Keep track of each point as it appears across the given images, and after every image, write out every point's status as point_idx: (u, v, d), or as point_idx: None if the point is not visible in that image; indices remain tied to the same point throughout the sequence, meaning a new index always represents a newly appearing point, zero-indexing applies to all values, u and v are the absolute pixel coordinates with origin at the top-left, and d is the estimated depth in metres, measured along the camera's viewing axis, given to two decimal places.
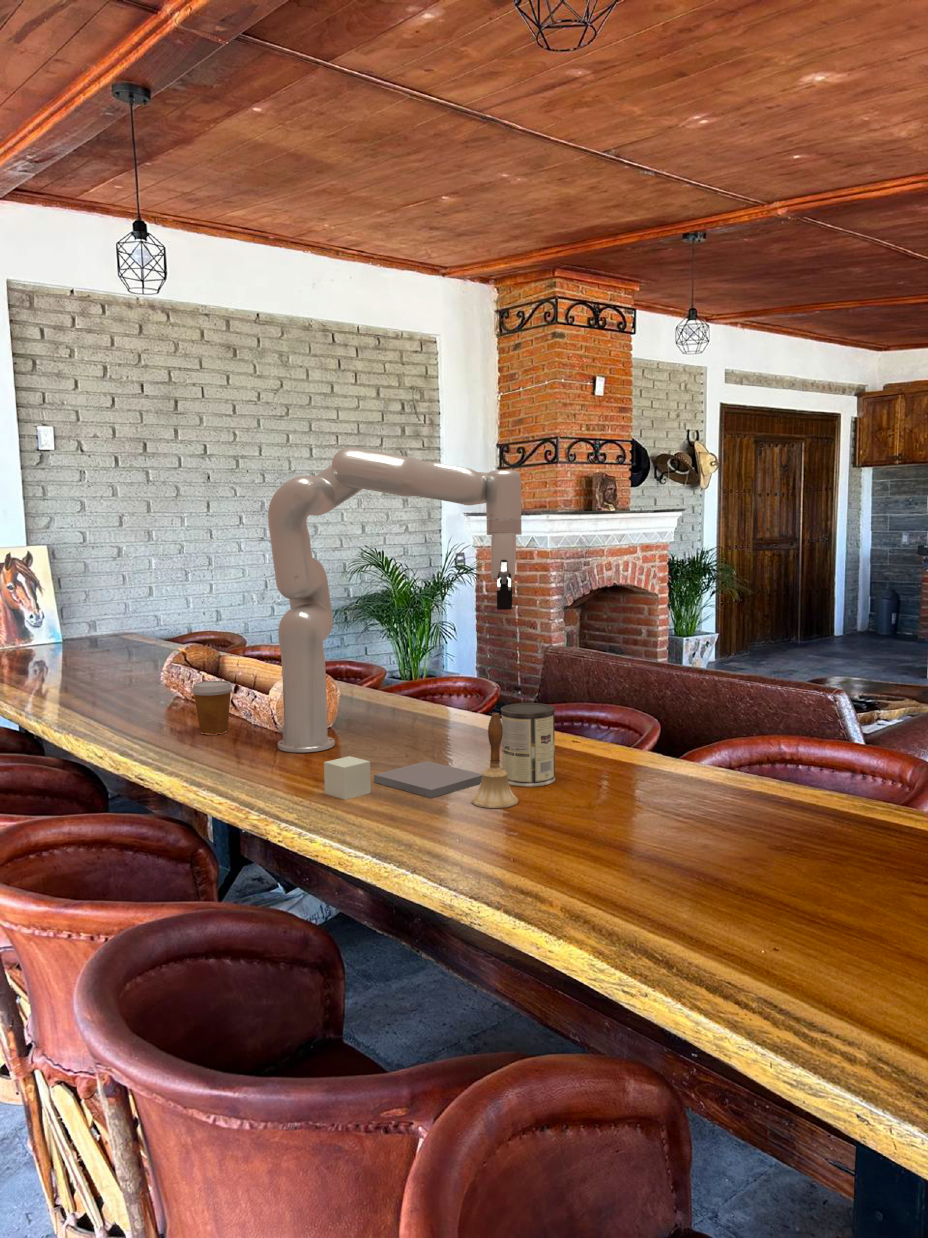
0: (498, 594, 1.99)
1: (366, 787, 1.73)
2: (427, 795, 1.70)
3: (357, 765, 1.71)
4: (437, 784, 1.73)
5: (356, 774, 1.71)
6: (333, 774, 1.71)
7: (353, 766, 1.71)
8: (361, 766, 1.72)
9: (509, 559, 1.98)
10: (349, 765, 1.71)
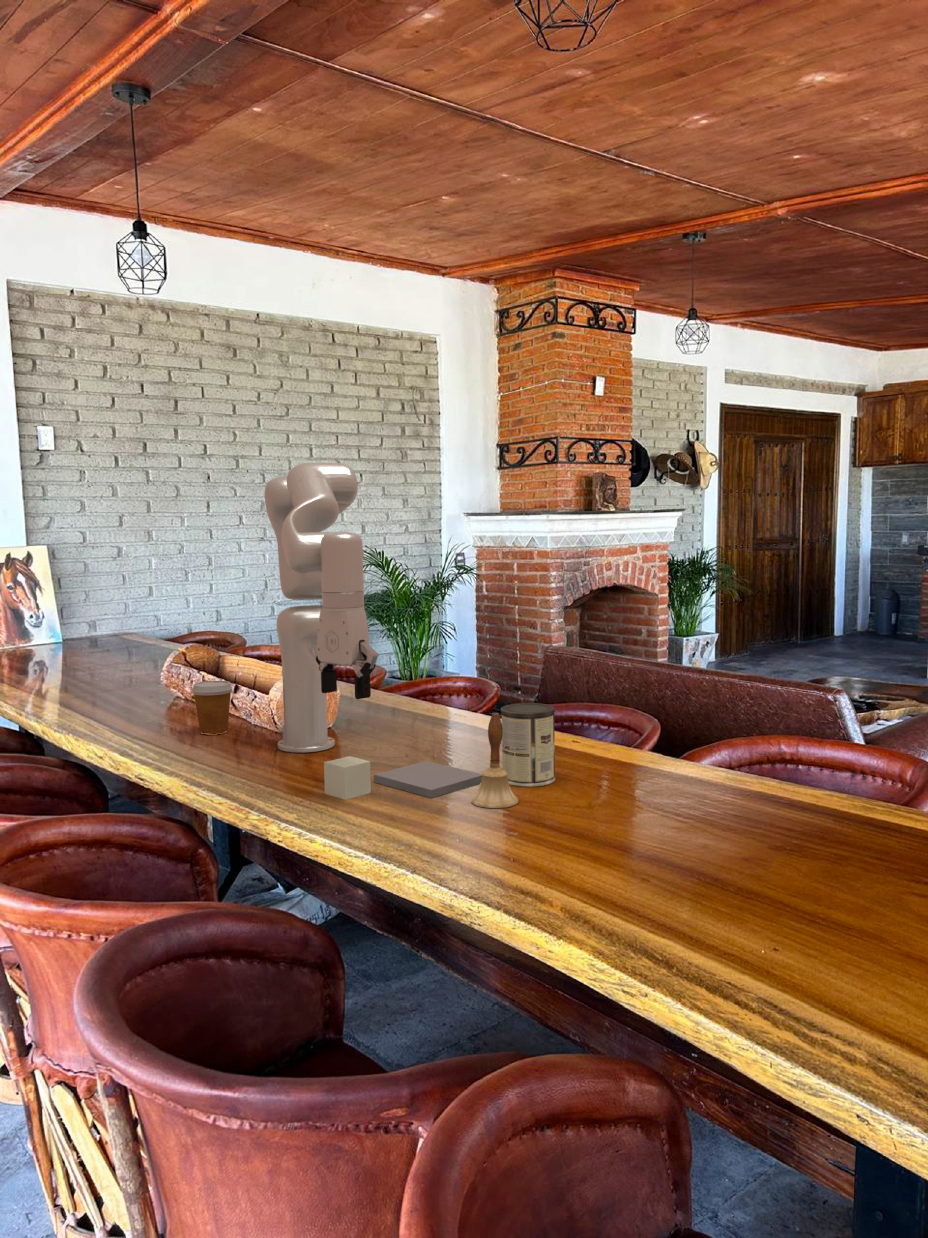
0: (358, 681, 1.67)
1: (366, 787, 1.73)
2: (427, 795, 1.70)
3: (357, 765, 1.71)
4: (437, 784, 1.73)
5: (356, 774, 1.71)
6: (333, 774, 1.71)
7: (353, 766, 1.71)
8: (361, 766, 1.72)
9: (366, 638, 1.68)
10: (349, 765, 1.71)
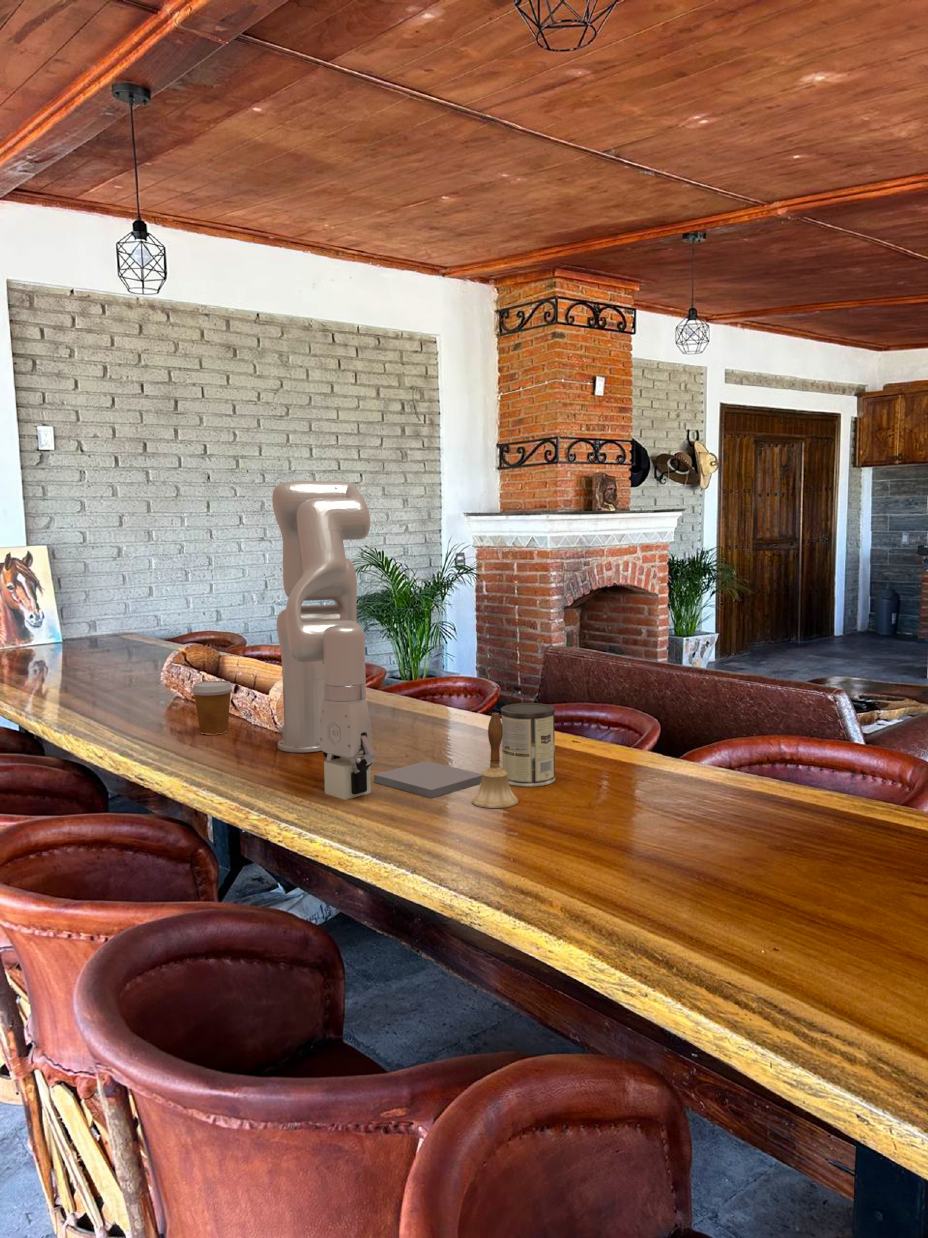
0: (354, 777, 1.70)
1: None
2: (427, 795, 1.70)
3: None
4: (437, 784, 1.73)
5: None
6: (333, 774, 1.71)
7: None
8: None
9: (368, 730, 1.70)
10: (349, 765, 1.71)
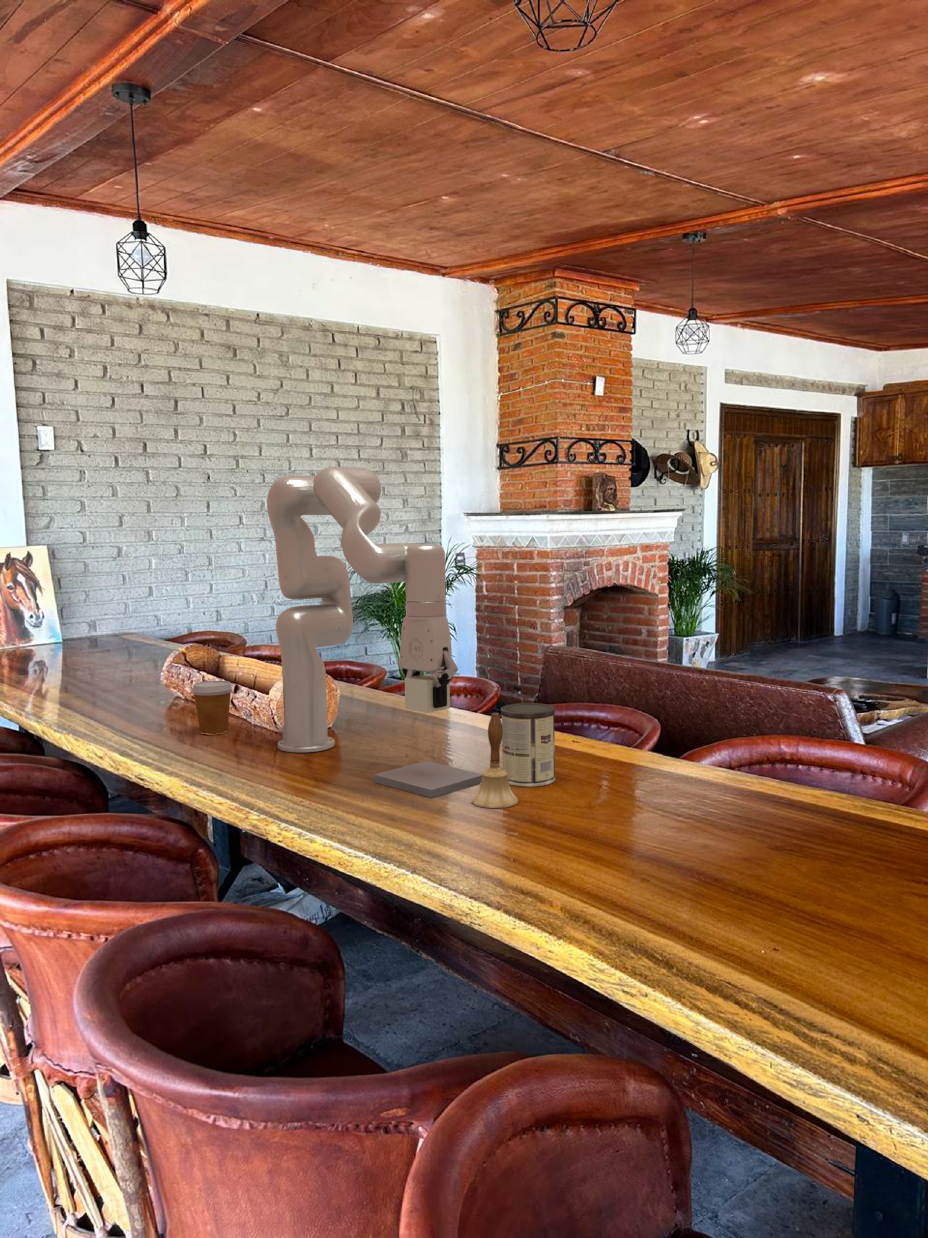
0: (436, 691, 1.75)
1: None
2: (427, 795, 1.70)
3: None
4: (437, 784, 1.73)
5: None
6: (415, 689, 1.76)
7: None
8: None
9: (449, 646, 1.75)
10: (430, 679, 1.76)
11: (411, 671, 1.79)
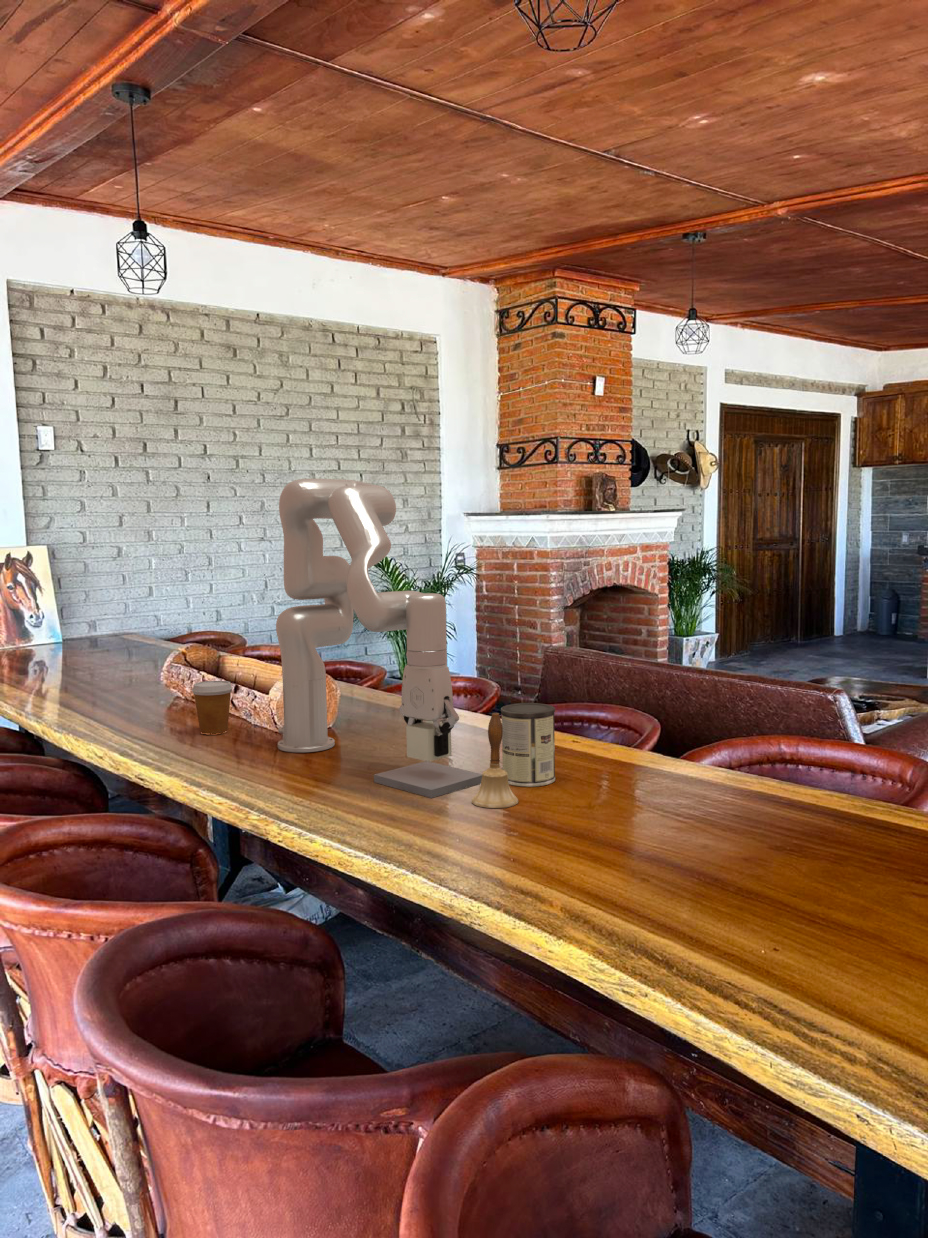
0: (437, 739, 1.76)
1: None
2: (427, 795, 1.70)
3: None
4: (437, 784, 1.73)
5: None
6: (416, 737, 1.77)
7: None
8: None
9: (450, 694, 1.76)
10: (432, 728, 1.76)
11: (412, 719, 1.80)
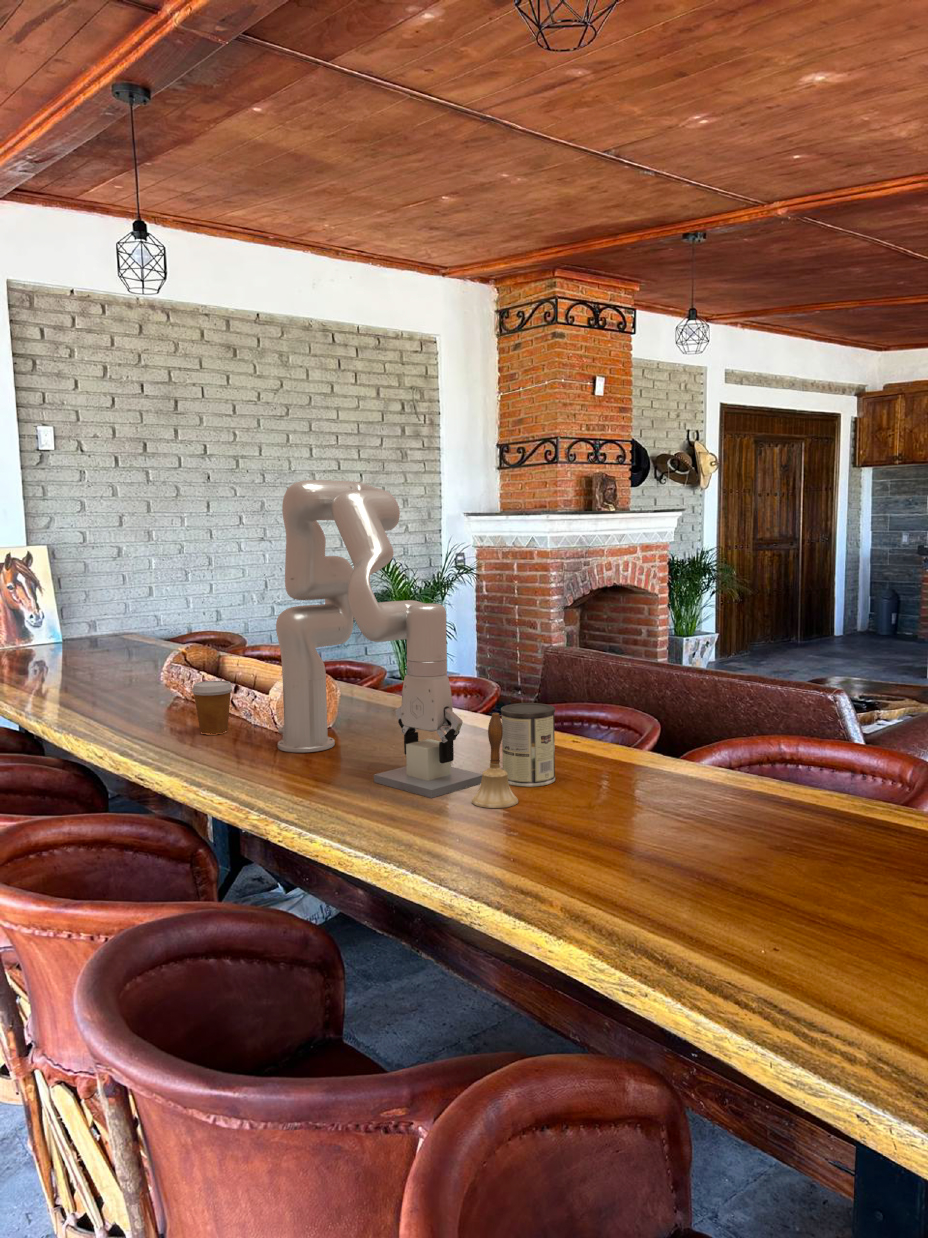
0: (442, 746, 1.75)
1: (447, 768, 1.79)
2: (427, 795, 1.70)
3: None
4: (437, 784, 1.73)
5: (438, 755, 1.77)
6: (416, 756, 1.78)
7: (435, 748, 1.77)
8: None
9: (450, 705, 1.76)
10: (431, 747, 1.77)
11: None
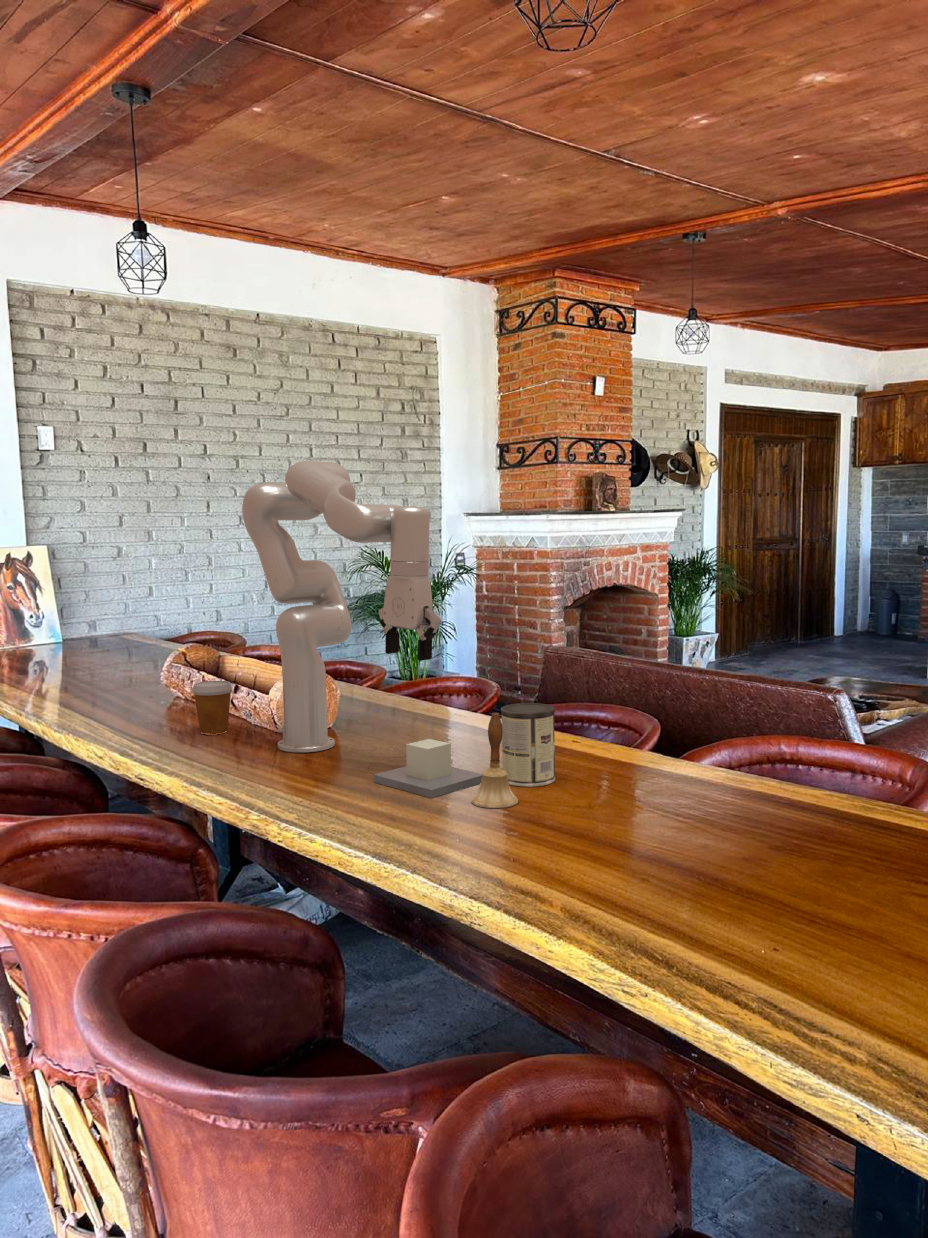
0: (421, 644, 1.82)
1: (447, 768, 1.79)
2: (427, 795, 1.70)
3: (439, 747, 1.77)
4: (437, 784, 1.73)
5: (438, 755, 1.77)
6: (416, 756, 1.78)
7: (435, 748, 1.77)
8: (442, 748, 1.78)
9: (430, 605, 1.82)
10: (431, 747, 1.77)
11: None
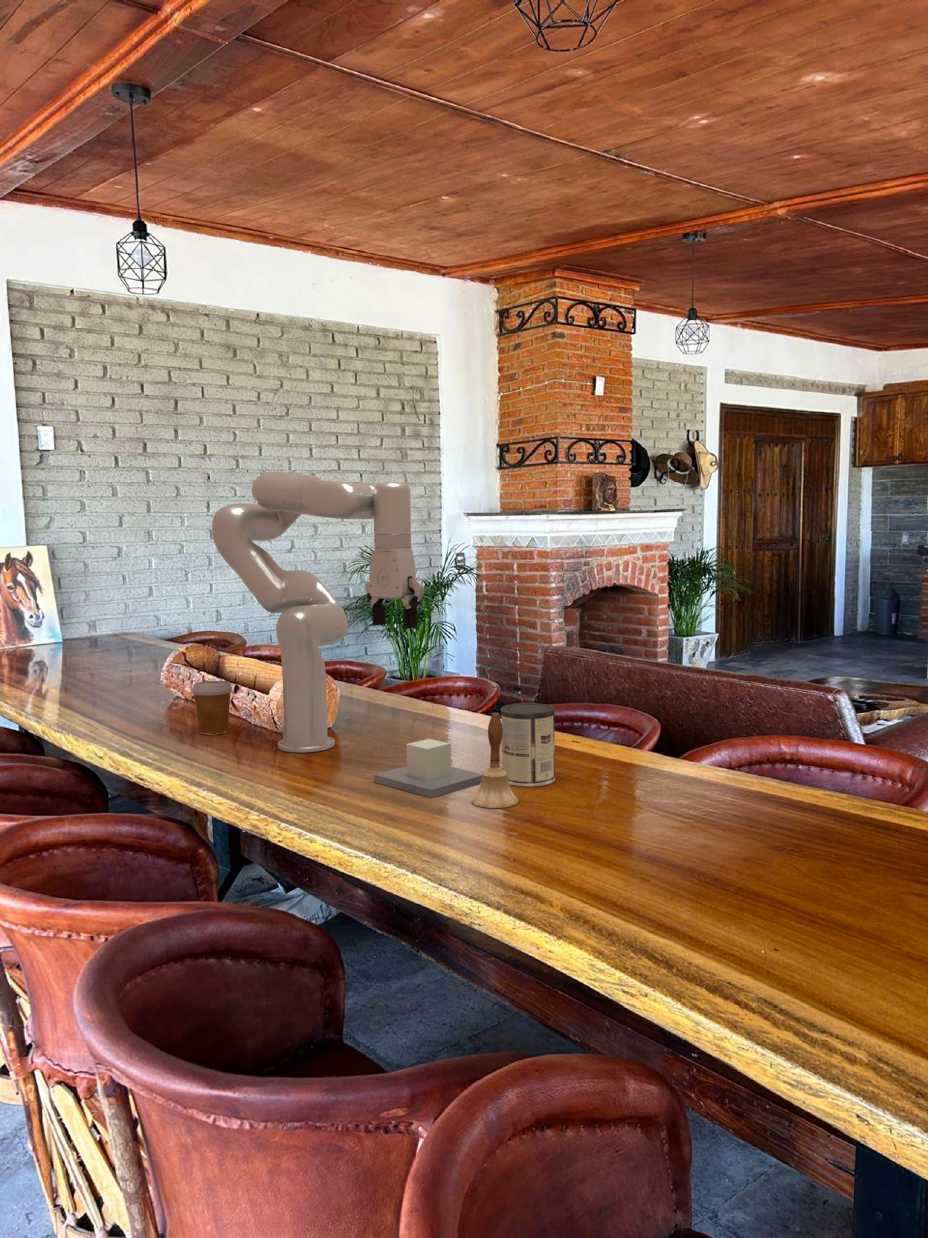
0: (406, 612, 1.90)
1: (447, 768, 1.79)
2: (427, 795, 1.70)
3: (439, 747, 1.77)
4: (437, 784, 1.73)
5: (438, 755, 1.77)
6: (416, 756, 1.78)
7: (435, 748, 1.77)
8: (442, 748, 1.78)
9: (414, 575, 1.91)
10: (431, 747, 1.77)
11: (376, 597, 1.96)
